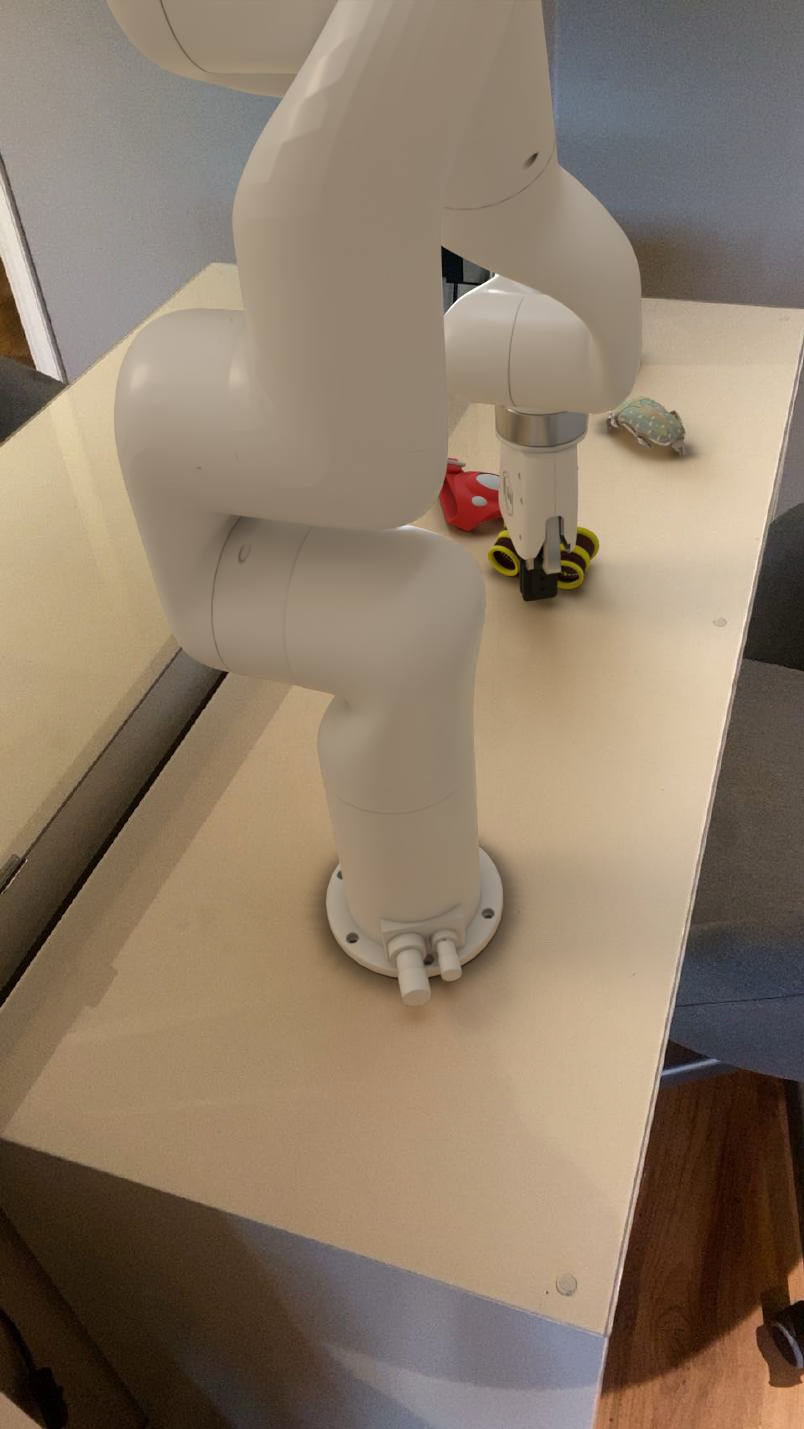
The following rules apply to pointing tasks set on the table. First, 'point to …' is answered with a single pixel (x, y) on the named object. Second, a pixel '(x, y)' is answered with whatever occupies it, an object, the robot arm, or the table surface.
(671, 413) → the turtle figurine
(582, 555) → the opera glasses
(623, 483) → the table surface
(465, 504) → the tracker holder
